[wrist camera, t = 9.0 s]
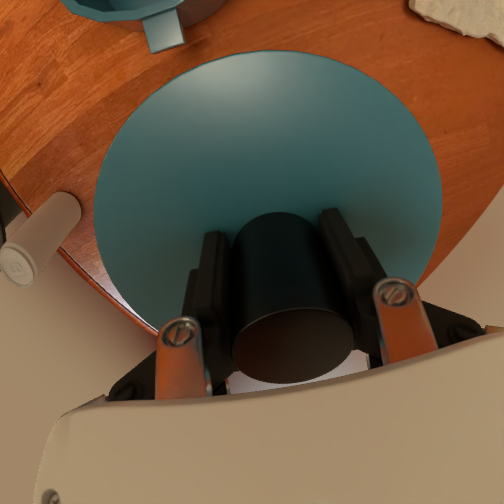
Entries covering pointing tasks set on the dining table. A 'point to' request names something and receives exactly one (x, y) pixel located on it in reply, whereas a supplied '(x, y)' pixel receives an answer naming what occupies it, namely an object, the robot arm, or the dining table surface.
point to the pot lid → (266, 199)
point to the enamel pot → (148, 17)
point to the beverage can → (39, 239)
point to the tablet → (465, 16)
